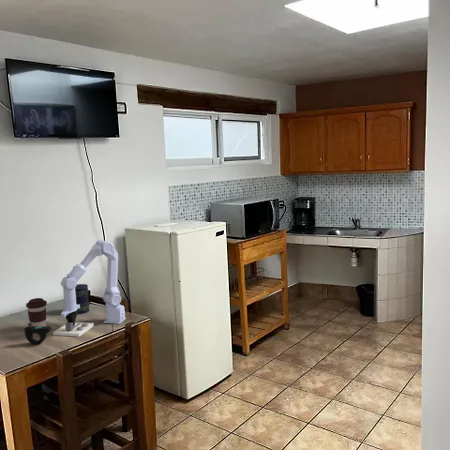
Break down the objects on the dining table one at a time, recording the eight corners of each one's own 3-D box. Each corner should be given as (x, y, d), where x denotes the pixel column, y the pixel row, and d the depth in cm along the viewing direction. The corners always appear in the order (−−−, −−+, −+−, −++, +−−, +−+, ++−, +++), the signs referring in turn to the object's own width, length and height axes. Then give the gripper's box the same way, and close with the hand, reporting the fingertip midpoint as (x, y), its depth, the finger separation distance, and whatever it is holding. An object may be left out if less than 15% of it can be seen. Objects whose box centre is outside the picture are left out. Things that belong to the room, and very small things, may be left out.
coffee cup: (42, 322, 247) (40, 295, 244) (52, 326, 240) (50, 299, 238) (24, 328, 239) (22, 300, 237) (34, 332, 233) (31, 303, 231)
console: (93, 325, 240) (93, 321, 240) (79, 336, 226) (78, 332, 225) (69, 324, 243) (69, 320, 243) (53, 335, 228) (53, 330, 228)
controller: (27, 341, 221) (25, 321, 219) (53, 341, 221) (51, 321, 219) (24, 345, 216) (22, 325, 215) (50, 344, 216) (48, 324, 215)
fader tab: (73, 329, 231) (72, 322, 230) (71, 330, 229) (70, 324, 228) (67, 329, 231) (67, 322, 231) (65, 330, 229) (65, 323, 229)
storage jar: (70, 310, 266) (68, 285, 264) (88, 307, 270) (86, 283, 268) (72, 315, 257) (70, 289, 255) (90, 312, 261) (89, 287, 259)
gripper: (70, 295, 238) (72, 321, 240) (54, 304, 224) (56, 331, 226) (82, 296, 237) (84, 321, 239) (67, 305, 223) (69, 331, 225)
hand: (71, 326), depth 232 cm, fingers closed
